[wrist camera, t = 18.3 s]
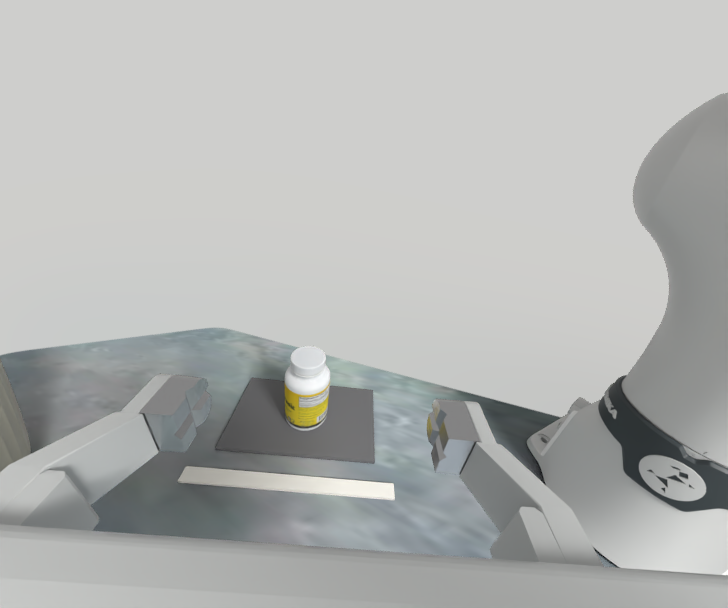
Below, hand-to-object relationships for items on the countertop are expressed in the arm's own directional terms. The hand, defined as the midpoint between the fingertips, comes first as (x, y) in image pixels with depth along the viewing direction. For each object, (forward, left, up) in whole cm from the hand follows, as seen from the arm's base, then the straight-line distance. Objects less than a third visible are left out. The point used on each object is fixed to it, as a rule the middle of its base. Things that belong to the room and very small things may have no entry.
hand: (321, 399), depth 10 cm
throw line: (-3, -9, -23) cm, 25 cm away
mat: (-9, -16, -23) cm, 29 cm away
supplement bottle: (-9, -16, -23) cm, 29 cm away
